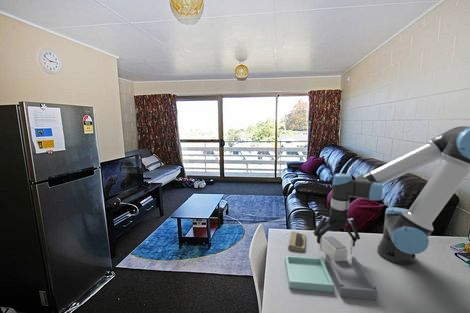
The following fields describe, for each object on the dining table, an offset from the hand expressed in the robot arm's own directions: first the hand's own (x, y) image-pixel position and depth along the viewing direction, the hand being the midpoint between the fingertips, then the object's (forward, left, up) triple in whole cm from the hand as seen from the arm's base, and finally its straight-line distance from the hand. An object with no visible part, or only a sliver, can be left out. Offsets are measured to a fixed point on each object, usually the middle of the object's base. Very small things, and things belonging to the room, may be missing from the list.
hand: (334, 251), depth 113 cm
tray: (+16, +16, -3) cm, 23 cm away
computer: (+16, -10, -3) cm, 19 cm away
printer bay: (0, +16, -3) cm, 16 cm away
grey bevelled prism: (0, -2, -3) cm, 4 cm away
